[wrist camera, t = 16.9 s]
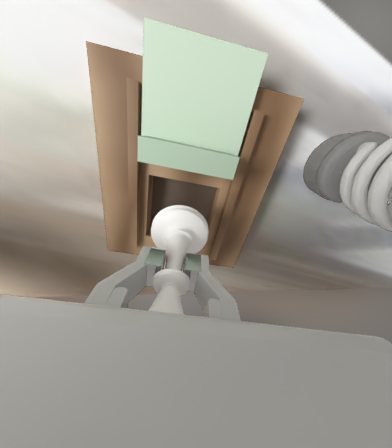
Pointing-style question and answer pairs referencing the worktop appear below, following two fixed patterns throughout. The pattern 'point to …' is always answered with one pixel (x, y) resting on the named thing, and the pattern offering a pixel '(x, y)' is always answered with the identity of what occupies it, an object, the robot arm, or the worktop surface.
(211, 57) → the cover
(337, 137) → the light bulb
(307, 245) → the worktop surface
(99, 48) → the board
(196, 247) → the chess piece
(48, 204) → the worktop surface
